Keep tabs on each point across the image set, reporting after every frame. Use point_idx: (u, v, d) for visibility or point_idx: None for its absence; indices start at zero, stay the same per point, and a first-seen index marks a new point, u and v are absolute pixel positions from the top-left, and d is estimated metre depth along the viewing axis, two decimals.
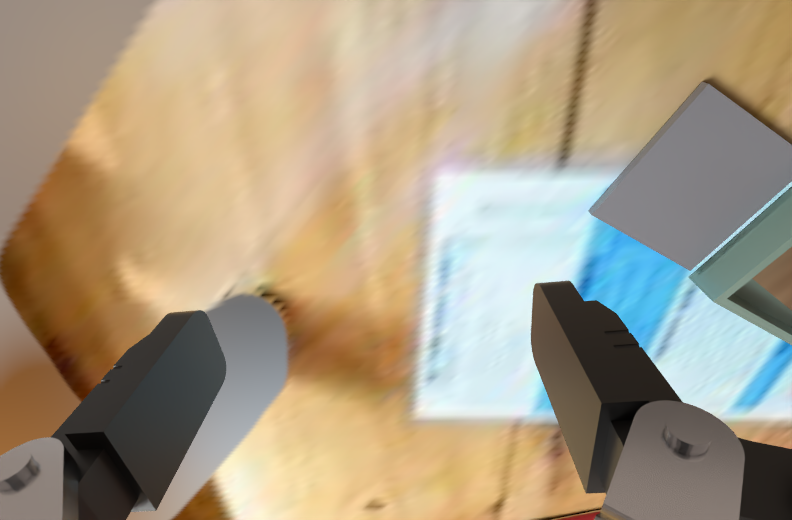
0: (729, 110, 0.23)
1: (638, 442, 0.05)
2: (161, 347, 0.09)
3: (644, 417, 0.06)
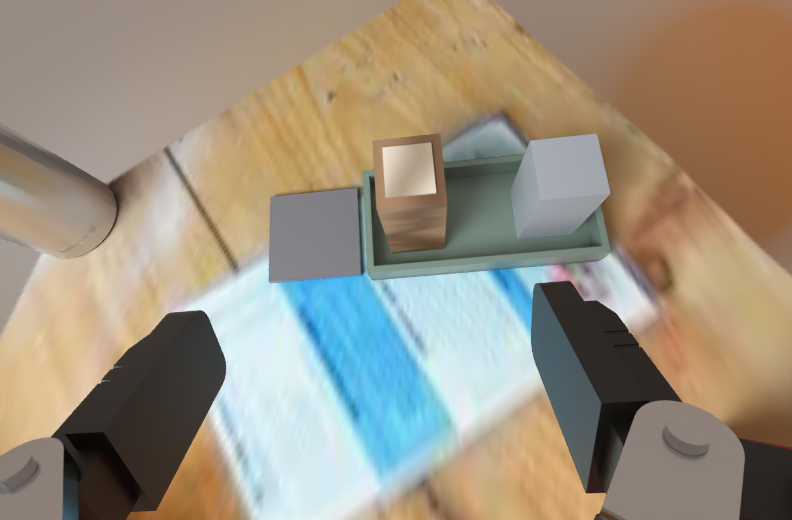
0: (291, 198, 0.42)
1: (638, 442, 0.05)
2: (161, 347, 0.09)
3: (643, 418, 0.06)
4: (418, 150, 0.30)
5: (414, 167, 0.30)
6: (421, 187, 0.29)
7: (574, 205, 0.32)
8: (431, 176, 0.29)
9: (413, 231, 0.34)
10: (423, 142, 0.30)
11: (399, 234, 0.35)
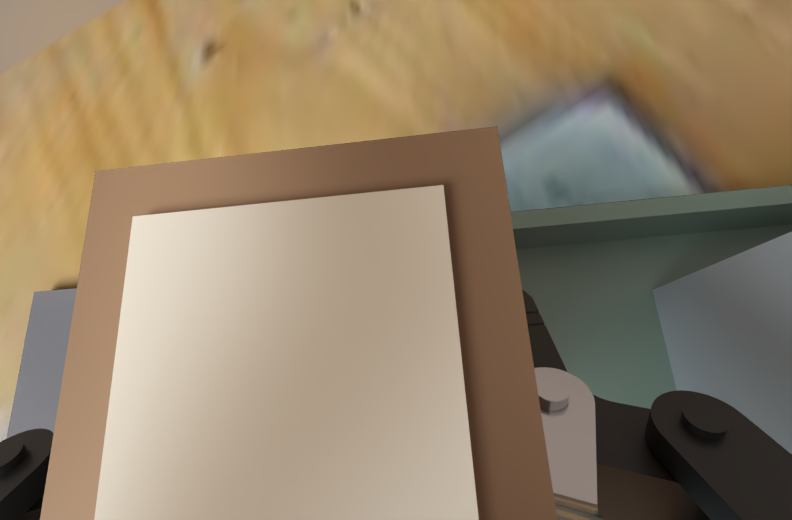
0: None
1: None
2: None
3: None
4: (357, 240, 0.04)
5: (322, 374, 0.04)
6: None
7: None
8: (444, 457, 0.04)
9: None
10: (392, 184, 0.05)
11: None
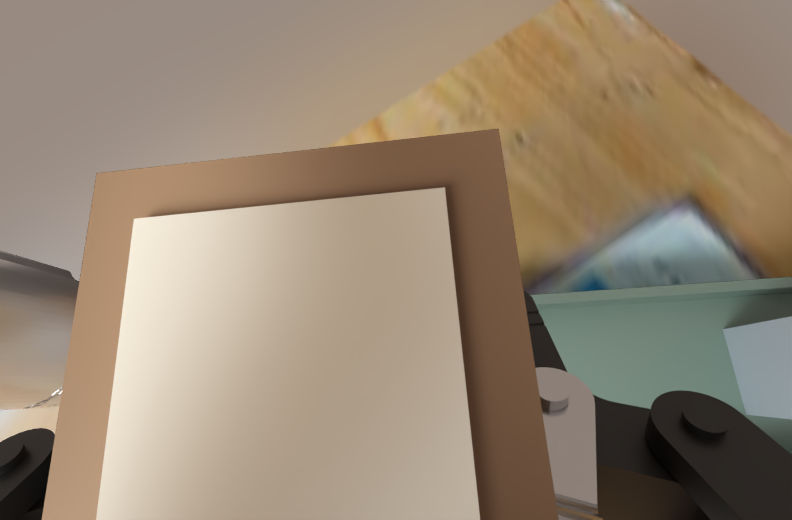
0: None
1: None
2: None
3: None
4: (358, 243, 0.04)
5: (323, 376, 0.04)
6: None
7: None
8: (445, 460, 0.04)
9: None
10: (393, 186, 0.05)
11: None
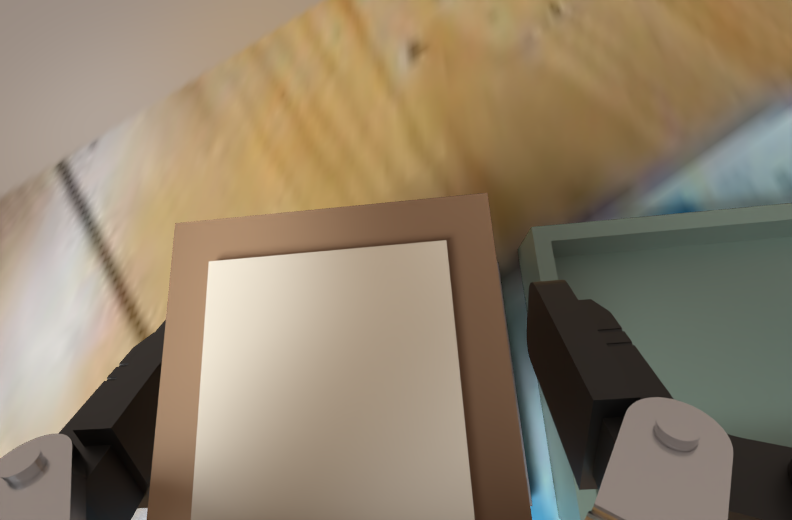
0: None
1: (629, 438, 0.05)
2: None
3: (634, 414, 0.06)
4: (381, 282, 0.06)
5: (357, 383, 0.06)
6: (392, 515, 0.05)
7: None
8: (446, 443, 0.05)
9: None
10: (407, 238, 0.06)
11: None
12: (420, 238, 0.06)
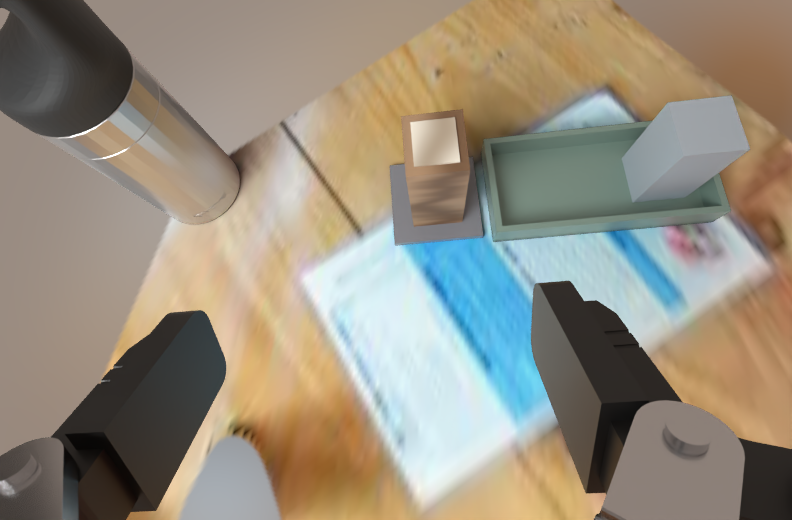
0: None
1: (638, 442, 0.05)
2: (161, 347, 0.09)
3: (644, 418, 0.06)
4: (443, 124, 0.33)
5: (439, 139, 0.33)
6: (446, 157, 0.32)
7: (708, 163, 0.34)
8: (455, 147, 0.32)
9: (435, 202, 0.37)
10: (447, 117, 0.33)
11: (423, 205, 0.38)
12: (450, 117, 0.33)
